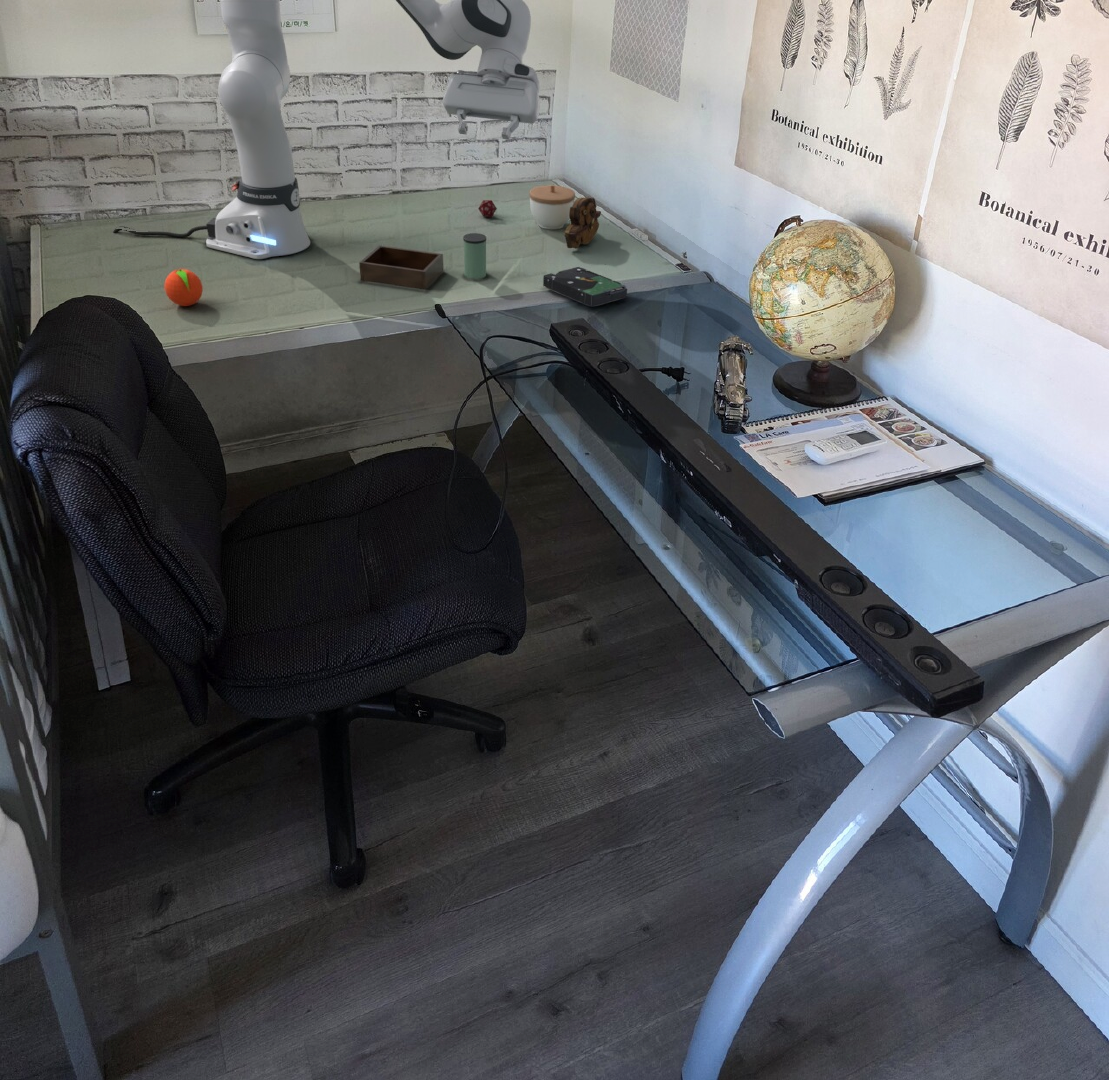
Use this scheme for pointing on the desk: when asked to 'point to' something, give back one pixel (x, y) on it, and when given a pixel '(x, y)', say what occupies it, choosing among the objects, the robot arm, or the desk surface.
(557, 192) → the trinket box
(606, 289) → the disk drive
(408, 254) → the walnut box
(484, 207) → the dice
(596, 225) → the wooden carving
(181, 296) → the clementine
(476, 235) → the cylinder
